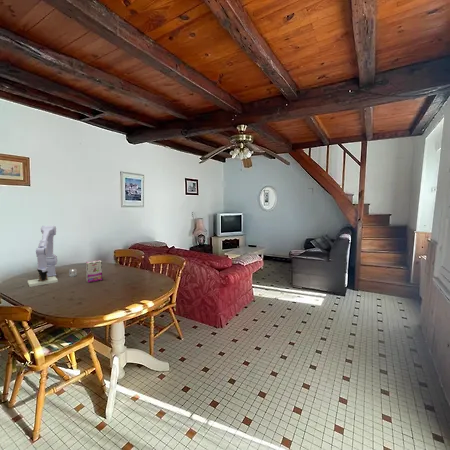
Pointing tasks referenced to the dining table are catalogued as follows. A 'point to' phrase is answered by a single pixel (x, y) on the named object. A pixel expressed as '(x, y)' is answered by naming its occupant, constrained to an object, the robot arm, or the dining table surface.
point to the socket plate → (37, 282)
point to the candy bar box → (94, 271)
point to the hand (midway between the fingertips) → (42, 278)
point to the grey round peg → (72, 272)
